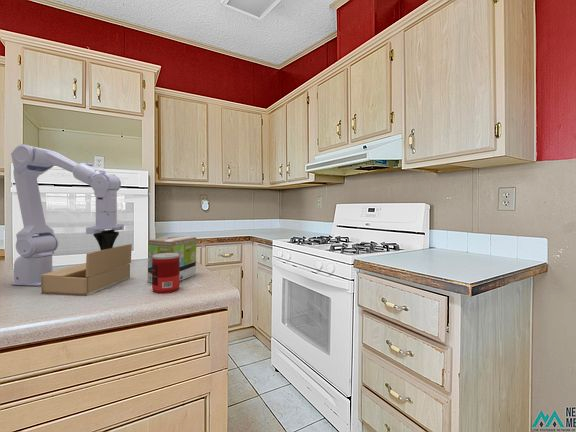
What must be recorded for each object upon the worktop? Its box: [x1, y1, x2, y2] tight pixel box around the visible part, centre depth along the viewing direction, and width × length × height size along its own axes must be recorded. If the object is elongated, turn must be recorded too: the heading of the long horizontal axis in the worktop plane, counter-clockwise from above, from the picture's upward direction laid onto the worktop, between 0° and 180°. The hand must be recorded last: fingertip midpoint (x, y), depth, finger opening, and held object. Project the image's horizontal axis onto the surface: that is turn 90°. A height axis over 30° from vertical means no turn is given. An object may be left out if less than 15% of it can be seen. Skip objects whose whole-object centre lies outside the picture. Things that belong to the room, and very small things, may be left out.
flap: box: [85, 243, 133, 277], centre depth 93 cm, size 7×20×1 cm
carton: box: [40, 262, 131, 297], centre depth 94 cm, size 14×20×6 cm
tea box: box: [147, 235, 197, 284], centre depth 104 cm, size 15×10×15 cm
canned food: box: [151, 253, 180, 294], centre depth 91 cm, size 8×8×11 cm
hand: (106, 254), depth 93 cm, fingers closed, pressing on flap
